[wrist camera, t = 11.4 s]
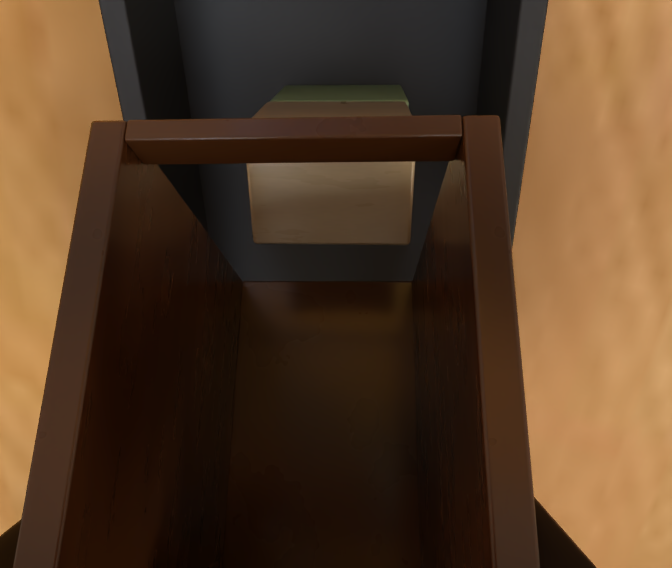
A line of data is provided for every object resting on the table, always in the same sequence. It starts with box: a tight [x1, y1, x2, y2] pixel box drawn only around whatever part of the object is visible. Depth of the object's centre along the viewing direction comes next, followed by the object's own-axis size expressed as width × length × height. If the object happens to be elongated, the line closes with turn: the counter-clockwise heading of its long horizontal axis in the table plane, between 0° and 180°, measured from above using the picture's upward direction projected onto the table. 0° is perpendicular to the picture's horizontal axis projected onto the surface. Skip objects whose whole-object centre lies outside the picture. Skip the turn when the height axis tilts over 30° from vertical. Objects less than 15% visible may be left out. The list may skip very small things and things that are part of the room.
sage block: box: [270, 85, 409, 108], centre depth 17 cm, size 3×4×3 cm
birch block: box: [246, 101, 415, 245], centre depth 14 cm, size 3×4×3 cm
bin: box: [99, 0, 548, 281], centre depth 18 cm, size 17×11×5 cm, turn 1°
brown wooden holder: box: [13, 115, 540, 568], centre depth 12 cm, size 9×7×10 cm
